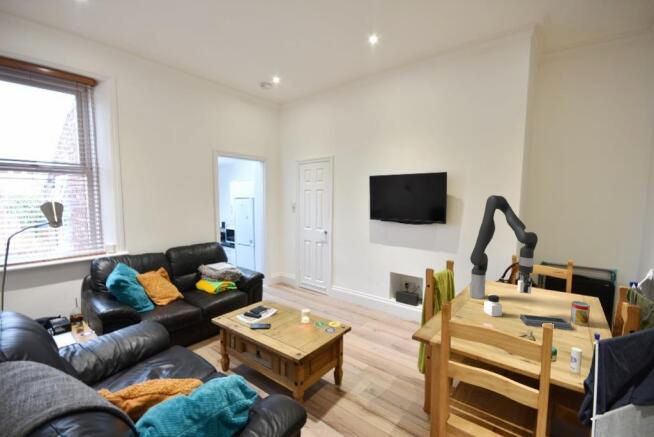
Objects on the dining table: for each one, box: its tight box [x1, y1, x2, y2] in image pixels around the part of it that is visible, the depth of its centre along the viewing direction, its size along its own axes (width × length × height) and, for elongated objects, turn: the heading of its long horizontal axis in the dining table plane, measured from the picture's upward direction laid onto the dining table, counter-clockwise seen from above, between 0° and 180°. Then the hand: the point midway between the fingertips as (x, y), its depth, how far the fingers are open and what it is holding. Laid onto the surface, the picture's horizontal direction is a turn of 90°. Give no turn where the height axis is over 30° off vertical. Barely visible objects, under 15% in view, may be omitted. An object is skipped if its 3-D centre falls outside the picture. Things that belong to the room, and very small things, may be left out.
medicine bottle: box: [483, 293, 503, 317], centre depth 182 cm, size 7×7×12 cm
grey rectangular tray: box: [519, 313, 572, 331], centre depth 168 cm, size 22×10×3 cm, turn 75°
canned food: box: [570, 300, 591, 327], centre depth 168 cm, size 8×8×12 cm
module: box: [516, 279, 532, 295], centre depth 180 cm, size 6×4×8 cm, turn 75°
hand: (524, 291), depth 180 cm, fingers closed on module, 4 cm apart
